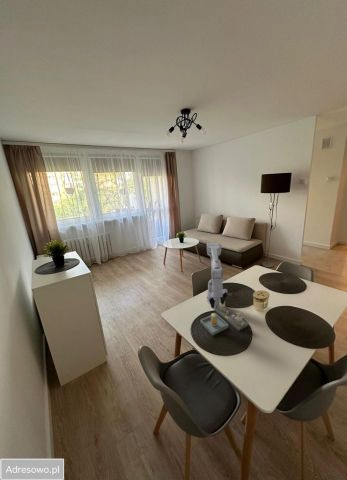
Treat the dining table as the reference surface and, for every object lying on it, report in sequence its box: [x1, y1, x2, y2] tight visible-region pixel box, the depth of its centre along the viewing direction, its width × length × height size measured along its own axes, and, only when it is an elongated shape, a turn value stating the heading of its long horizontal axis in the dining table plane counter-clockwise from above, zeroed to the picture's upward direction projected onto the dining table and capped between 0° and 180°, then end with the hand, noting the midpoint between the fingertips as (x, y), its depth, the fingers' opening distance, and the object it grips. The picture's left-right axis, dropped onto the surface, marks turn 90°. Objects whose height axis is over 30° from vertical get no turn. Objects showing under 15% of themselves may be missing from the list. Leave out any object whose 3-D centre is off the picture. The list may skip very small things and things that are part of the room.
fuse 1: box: [220, 300, 226, 311], centre depth 126 cm, size 4×4×7 cm
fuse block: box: [213, 305, 249, 332], centre depth 120 cm, size 22×8×3 cm, turn 27°
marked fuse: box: [210, 312, 218, 327], centre depth 114 cm, size 4×4×7 cm
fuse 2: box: [235, 310, 243, 325], centre depth 113 cm, size 4×4×7 cm
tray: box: [199, 314, 230, 337], centre depth 115 cm, size 12×12×2 cm
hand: (217, 305), depth 119 cm, fingers open, 7 cm apart
